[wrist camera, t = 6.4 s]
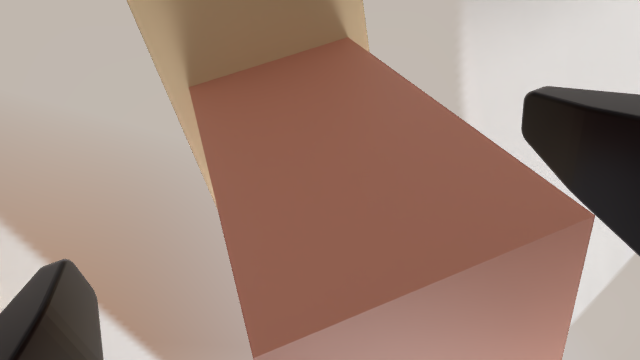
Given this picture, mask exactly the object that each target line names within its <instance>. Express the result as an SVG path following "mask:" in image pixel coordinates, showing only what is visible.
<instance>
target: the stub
mask: <svg viewBox="0 0 640 360" xmlns="http://www.w3.org/2000/svg"><path fill="white" fill-rule="evenodd" d="M127 2H128V5H129V7H130V9H131V11H132V14H133V16H134V18H135V21H136V23H137V25H138V28H139V30H140V32H141V34H142V37H143V39H144V41H145V44H146V46H147V48H148V50H149V53H150V55H151V57H152V60H153V62H154V64H155V67H156V69H157V71H158V73H159V76H160V78H161V80H162V83H163V85H164V87H165V90H166V92H167V94H168V96H169V99H170V101H171V104H172V106H173V108H174V110H175V113H176V115H177V117H178V120H179V122H180V124H181V127H182V129H183V131H184V133H185V136H186V138H187V140H188V143H189V145H190V147H191V150H192V152H193V154H194V156H195V159H196V161H197V163H198V166H199V168H200V170H201V172H202V175H203V177H204V179H205V182H206V184H207V186H208V189H209V191H210V193H211V196H212V198H213V200H214V202H215V205H216V207H217V209H218V212H219V217H220V221H221V225H222V229H223V234H224V238H225V242H226V246H227V250H228V255H229V259H230V263H231V267H232V271H233V276H234V280H235V284H236V288H237V292H238V297H239V300H240V304H241V309H242V313H243V318H244V322H245V326H246V330H247V334H248V338H249V342H250V347H251V351H252V355H253V359H254V360H562V357H563V352H564V348H565V343H566V339H567V335H568V331H569V326H570V322H571V318H572V313H573V309H574V305H575V300H576V296H577V292H578V287H579V283H580V279H581V274H582V270H583V266H584V261H585V257H586V253H587V248H588V244H589V240H590V235H591V231H592V227H593V222H594V218H595V215H594V214H592V213H591V212H590V211H588V210H587V209H585V208H584V207H583V206H581V205H580V204H578V203H577V202H576V201H574V200H573V199H572V198H570V197H569V196H567V195H566V194H565V193H563V192H562V191H560V190H559V189H558V188H556V187H555V186H554V185H552V184H551V183H549V182H548V181H547V180H545V179H544V178H542V177H541V176H540V175H538V174H537V173H536V172H534V171H533V170H531V169H530V168H529V167H527V166H526V165H524V164H523V163H522V162H520V161H519V160H518V159H516V158H515V157H513V156H512V155H511V154H509V153H508V152H506V151H505V150H504V149H502V148H501V147H500V146H498V145H497V144H495V143H494V142H493V141H491V140H490V139H488V138H487V137H486V136H484V135H483V134H482V133H480V132H479V131H477V130H476V129H475V128H473V127H472V126H470V125H469V124H468V123H466V122H465V121H464V120H462V119H461V118H459V117H458V116H456V115H455V114H454V113H452V112H451V111H449V110H448V109H447V108H445V107H444V106H443V105H441V104H440V103H439V102H437V101H436V100H434V99H433V98H432V97H430V96H429V95H427V94H426V93H425V92H423V91H422V90H421V89H419V88H418V87H416V86H415V85H414V84H412V83H411V82H409V81H408V80H407V79H405V78H404V77H402V76H401V75H400V74H398V73H397V72H396V71H394V70H393V69H391V68H390V67H389V66H387V65H386V64H385V63H383V62H382V61H380V60H379V59H378V58H376V57H375V56H373V55H372V54H371V53H370V52H369V45H368V37H367V30H366V22H365V14H364V7H363V0H127Z"/></svg>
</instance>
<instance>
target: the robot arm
mask: <svg viewBox="0 0 640 360" xmlns="http://www.w3.org/2000/svg"><path fill="white" fill-rule="evenodd" d="M522 134H523V137H524V138H525V140H526V141H527V142H528V144H529V145H530V146H531V147H532V148H533V149H534V150H535V152H536V153H537V154H538V155H539V156H540V157H541V159H542V160H543V161H544V162H545V163H546V164H547V165H548V167H549V168H550V169H551V170H552V171H553V172H554V173H555V175H556V176H557V177H558V178H559V179H560V180H561V182H562V183H563V184H564V185H565V186H566V187H567V188H568V189H569V190H570V191H571V192H572V193H573V194H574V195H575V196H576V197H577V198H578V199H579V200H580V201H581V202H582V203H583V204H584V205H585V206H586V207H587V208H588V209H589V210H591V211H592V212H593V213H594V214H595V215H596V216H597V217H598V218H599V219H600V220H601V221H602V222H603V223H604V224H606V225H607V226H608V227H609V228H610V229H611V230H612V231H613V232H614V233H615V234H616V235H617V236H618V237H619V238H621V239H622V240H623V241H624V242H625V243H626V244H627V245H628V246H629V247H630V248H631V249H632V250H633V251H634V252H636V253H637V254H638V255H639V256H640V95H638V94H627V93H616V92H606V91H595V90H584V89H573V88H562V87H552V86H546V87H542V88H539V89H536V90H534V91H531V92H529V93H528V94H527V95H526V96H525V98H524V104H523V116H522ZM0 360H103V350H102V341H101V331H100V321H99V311H98V302H97V297H96V294H95V292H94V290H93V288H92V287H91V286H90V284H89V283H88V282H87V280H86V279H85V278H84V276H83V275H82V274H81V272H80V271H79V270H78V268H77V267H76V266H75V265H74V263H73V262H71V261H70V260H67V259H63V260H60V261H57V262H55V263H51V264H49V265H46V266H43V267H42V268H40V269H39V271H38V272H37V273H36V274H35V275H34V276H33V277H32V278H31V280H30V281H29V282H28V283H27V284H26V285H25V286H24V287H23V289H22V290H21V291H20V292H19V293H18V294H17V295H16V296H15V298H14V299H13V300H12V301H11V302H10V303H9V304H8V306H7V307H6V308H5V309H4V310H3V311H2V312H1V313H0Z"/></svg>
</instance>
